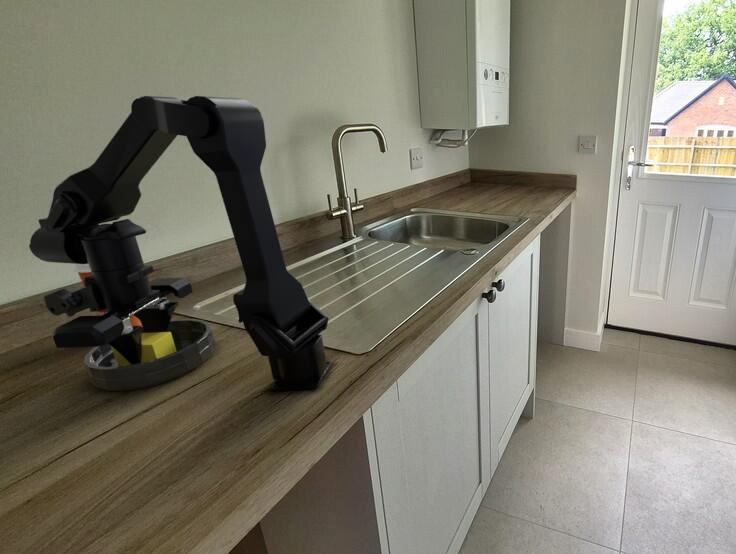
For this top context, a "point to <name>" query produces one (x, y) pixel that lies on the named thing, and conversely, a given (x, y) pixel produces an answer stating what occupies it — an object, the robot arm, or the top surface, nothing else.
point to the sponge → (151, 347)
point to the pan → (191, 353)
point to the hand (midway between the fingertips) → (147, 356)
